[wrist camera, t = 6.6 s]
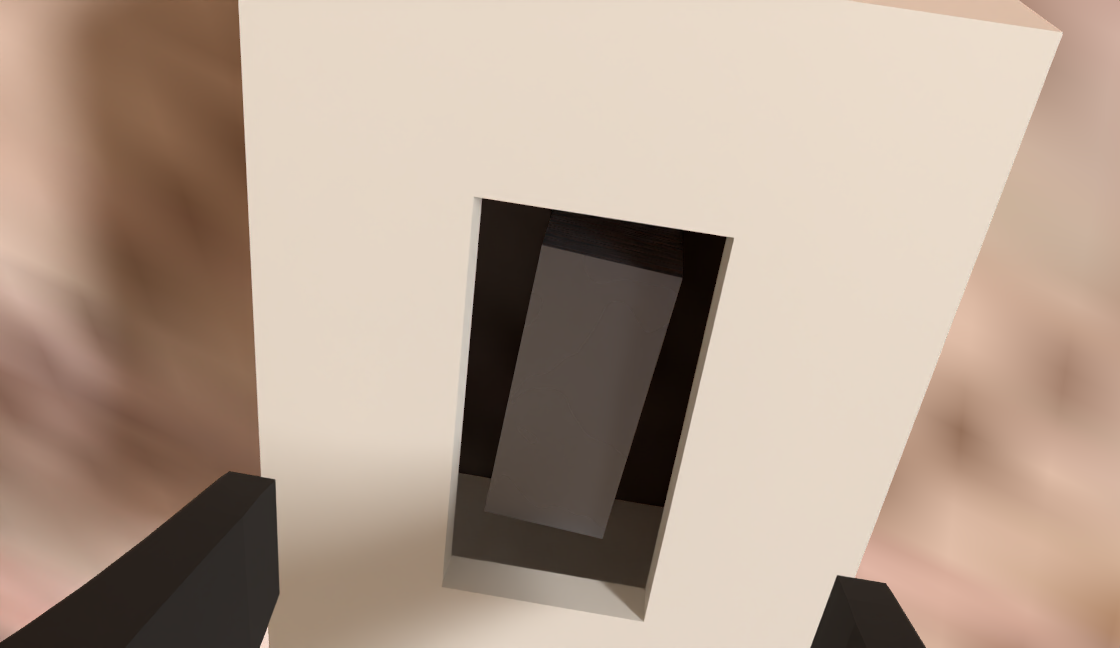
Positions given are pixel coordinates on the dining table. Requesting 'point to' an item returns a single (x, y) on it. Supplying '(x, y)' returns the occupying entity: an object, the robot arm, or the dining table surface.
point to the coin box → (626, 194)
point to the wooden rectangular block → (584, 368)
